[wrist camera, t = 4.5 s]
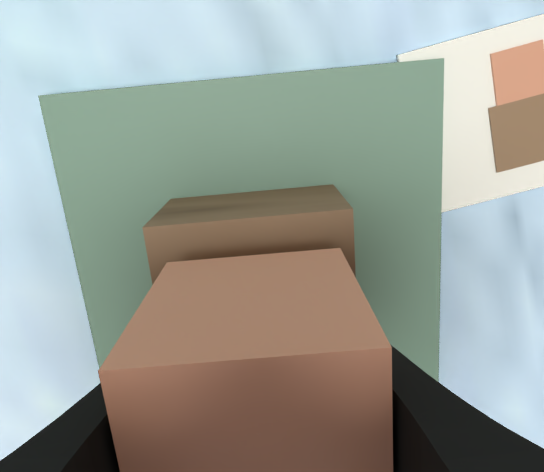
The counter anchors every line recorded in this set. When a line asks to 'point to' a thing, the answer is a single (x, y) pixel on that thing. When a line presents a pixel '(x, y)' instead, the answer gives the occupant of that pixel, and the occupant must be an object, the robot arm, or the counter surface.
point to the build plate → (260, 177)
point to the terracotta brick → (252, 370)
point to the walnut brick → (250, 225)
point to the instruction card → (491, 112)
